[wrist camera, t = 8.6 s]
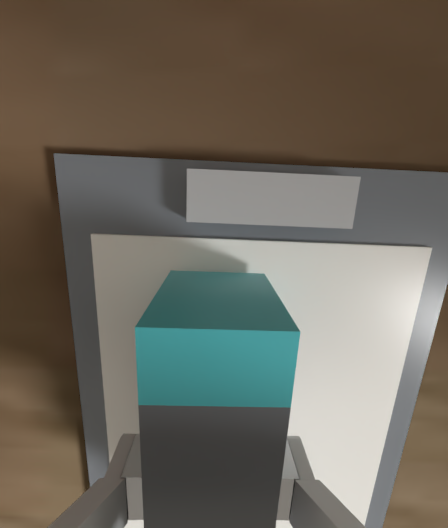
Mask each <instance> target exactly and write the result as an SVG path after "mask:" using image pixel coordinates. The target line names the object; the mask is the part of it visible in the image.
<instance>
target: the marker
mask: <svg viewBox="0 0 448 528" xmlns="http://www.w3.org/2000/svg"><path fill="white" fill-rule="evenodd" d="M299 339H300V330H299V329H298V327H297V325H296V324H295V322H294V320H293V319H292V317H291V316H290V314H289V312H288V311H287V309H286V307H285V306H284V304H283V303H282V301H281V299H280V298H279V296H278V295H277V293H276V291H275V290H274V288H273V286H272V285H271V283H270V282H269V280H268V278H267V277H266V275H265V274H261V273H232V272H203V271H174V270H171V271H170V272H169V274H168V276H167V277H166V279H165V280H164V282H163V283H162V285H161V287H160V288H159V290H158V291H157V293H156V295H155V296H154V298H153V299H152V301H151V302H150V304H149V306H148V307H147V309H146V310H145V312H144V314H143V315H142V317H141V318H140V320H139V321H138V323H137V325H136V326H135V343H136V365H137V387H138V409H139V431H140V454H141V476H142V498H143V520H144V528H276V520H277V512H278V504H279V496H280V489H281V481H282V473H283V465H284V457H285V449H286V442H287V434H288V426H289V418H290V410H291V402H292V394H293V387H294V379H295V371H296V363H297V355H298V347H299Z"/></svg>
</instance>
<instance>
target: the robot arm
mask: <svg viewBox="0 0 448 528" xmlns="http://www.w3.org/2000/svg"><path fill="white" fill-rule="evenodd" d="M128 520H143V498H142V476H141V454H140V434H125V433H123V435H122V436H121V437H120V440H119V442H118V445H117V447H116V449H115V452H114V454H113V457H112V459H111V462H110V464H109V467H108V469H107V472H106V474H105V477H104V478H99V479H98V480H97V481H96V482H95V483H94V484H93V485H92V486H91V487H90V488H89V489H88V490H87V491H86V492H84V493H83V494H82V495H81V496H80V497H79V498H78V499H77V500H76V501H75V502H74V503H73V504H72V505H71V506H70V507H69V508H67V509H66V510H65V511H64V512H63V513H62V514H61V515H60V516H59V517H58V518H57V519H56V520H55V521H54V522H53V523H52V524H50V525H49V526H48V527H47V528H124V527H125V525H126V524H127V523H128ZM277 520H288V521H289V522H290V524H291V526H292V527H293V528H366V527H365V526H364V525H363V524H362V523H361V522H360V521H359V520H358V519H357V518H356V517H355V516H354V515H353V514H352V513H351V512H350V511H349V510H348V509H347V508H346V507H345V506H344V505H343V503H342V502H341V501H340V500H339V499H338V498H337V497H336V496H335V495H334V494H333V493H332V492H331V491H330V490H329V489H328V488H327V487H326V486H325V485H324V484H323V483H322V482H321V481H320V480H315V477H314V474H313V471H312V469H311V466H310V463H309V460H308V457H307V454H306V452H305V449H304V446H303V443H302V440H301V438H300V437H299V436H287V442H286V449H285V457H284V465H283V473H282V481H281V489H280V496H279V504H278V512H277Z"/></svg>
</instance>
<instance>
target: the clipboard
mask: <svg viewBox="0 0 448 528" xmlns="http://www.w3.org/2000/svg"><path fill="white" fill-rule="evenodd" d="M54 162H55V171H56V181H57V190H58V199H59V208H60V217H61V226H62V235H63V245H64V254H65V263H66V272H67V281H68V290H69V299H70V309H71V318H72V327H73V336H74V345H75V354H76V363H77V372H78V382H79V391H80V400H81V409H82V418H83V427H84V436H85V446H86V455H87V464H88V473H89V482H90V487H91V486H92V485H93V484H94V483H95V482H96V481H97V480H98V479H99V478H104V477H105V474H106V472H107V469H108V467H109V464H110V462H111V459H112V457H113V454H114V452H115V449H116V447H117V445H118V442H119V440H120V437H121V436H122V435H123V433H125V434H140V431H139V409H138V387H137V365H136V343H135V326H136V325H137V323H138V321H139V320H140V318H141V317H142V315H143V314H144V312H145V310H146V309H147V307H148V306H149V304H150V302H151V301H152V299H153V298H154V296H155V295H156V293H157V291H158V290H159V288H160V287H161V285H162V283H163V282H164V280H165V279H166V277H167V276H168V274H169V272H170V271H171V270H174V271H203V272H232V273H261V274H265V275H266V277H267V278H268V280H269V282H270V283H271V285H272V286H273V288H274V290H275V291H276V293H277V295H278V296H279V298H280V299H281V301H282V303H283V304H284V306H285V307H286V309H287V311H288V312H289V314H290V316H291V317H292V319H293V320H294V322H295V324H296V325H297V327H298V329H299V330H300V339H299V347H298V355H297V363H296V371H295V379H294V387H293V394H292V402H291V410H290V418H289V426H288V434H287V436H299V437H300V438H301V440H302V443H303V446H304V449H305V452H306V454H307V457H308V460H309V463H310V466H311V469H312V471H313V474H314V477H315V480H320V481H321V482H322V483H323V484H324V485H325V486H326V487H327V488H328V489H329V490H330V491H331V492H332V493H333V494H334V495H335V496H336V497H337V498H338V499H339V500H340V501H341V502H342V503H343V505H344V506H345V507H346V508H347V509H348V510H349V511H350V512H351V513H352V514H353V515H354V516H355V517H356V518H357V519H358V520H359V521H360V522H361V523H362V524H363V525H364V526H365V527H366V528H382V526H383V523H384V519H385V515H386V511H387V508H388V504H389V500H390V496H391V493H392V489H393V485H394V482H395V478H396V474H397V470H398V467H399V463H400V459H401V455H402V452H403V448H404V444H405V440H406V437H407V433H408V429H409V426H410V422H411V418H412V414H413V411H414V407H415V403H416V399H417V396H418V392H419V388H420V384H421V381H422V377H423V373H424V370H425V366H426V362H427V358H428V355H429V351H430V347H431V343H432V340H433V336H434V332H435V328H436V325H437V321H438V317H439V314H440V310H441V306H442V302H443V299H444V295H445V291H446V287H447V284H448V172H427V171H407V170H386V169H366V168H345V167H325V166H304V165H284V164H263V163H243V162H222V161H202V160H181V159H161V158H140V157H120V156H99V155H79V154H59V153H54ZM124 528H144V520H128V523H127V524H126V525H125V527H124ZM276 528H293V527H292V526H291V524H290V522H289V521H288V520H276Z"/></svg>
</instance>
